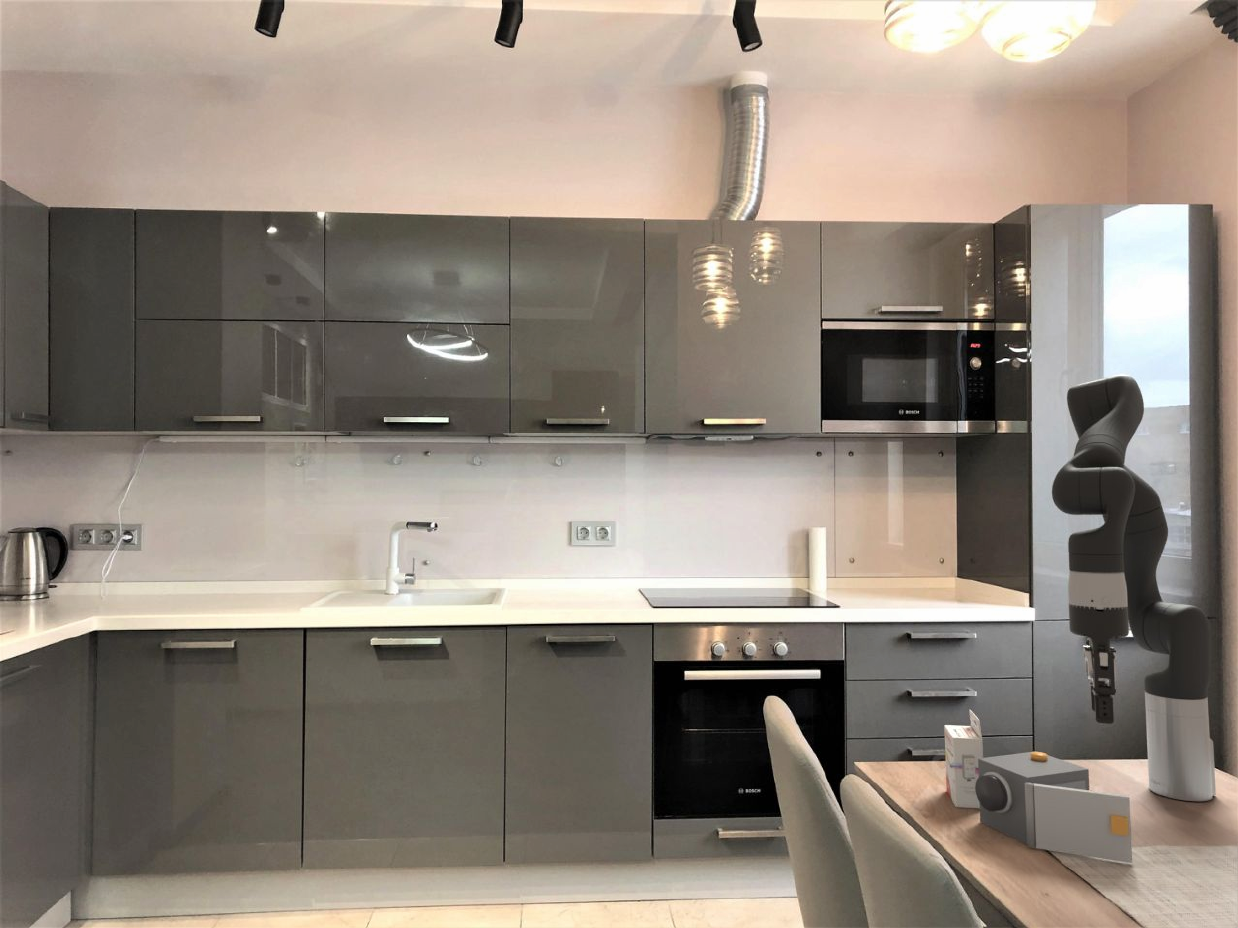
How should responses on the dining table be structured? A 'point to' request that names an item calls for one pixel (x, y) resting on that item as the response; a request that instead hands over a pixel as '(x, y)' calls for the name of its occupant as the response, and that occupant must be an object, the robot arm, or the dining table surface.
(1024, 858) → the dining table surface
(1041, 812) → the side door
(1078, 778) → the camera body
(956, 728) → the ink cartridge box
